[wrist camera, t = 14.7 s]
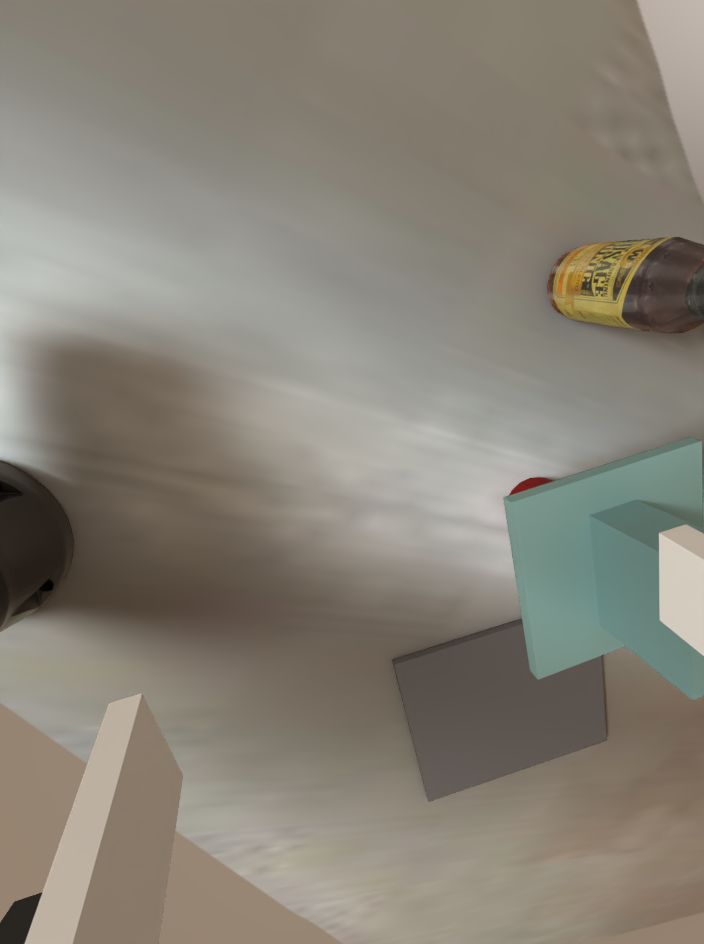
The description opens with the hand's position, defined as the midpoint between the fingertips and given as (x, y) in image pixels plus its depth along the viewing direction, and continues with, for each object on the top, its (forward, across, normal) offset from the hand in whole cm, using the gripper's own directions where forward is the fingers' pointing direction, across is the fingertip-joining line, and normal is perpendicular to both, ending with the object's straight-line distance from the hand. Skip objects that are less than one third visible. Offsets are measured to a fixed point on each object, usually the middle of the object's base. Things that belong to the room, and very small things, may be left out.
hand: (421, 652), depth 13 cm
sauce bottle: (+35, +26, +3) cm, 44 cm away
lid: (+23, +20, -17) cm, 35 cm away
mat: (+35, +14, -42) cm, 56 cm away
